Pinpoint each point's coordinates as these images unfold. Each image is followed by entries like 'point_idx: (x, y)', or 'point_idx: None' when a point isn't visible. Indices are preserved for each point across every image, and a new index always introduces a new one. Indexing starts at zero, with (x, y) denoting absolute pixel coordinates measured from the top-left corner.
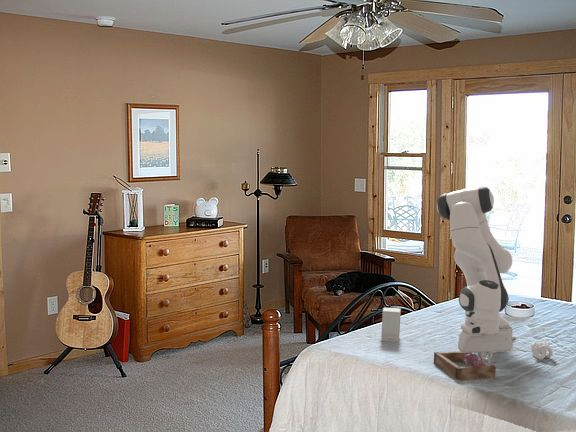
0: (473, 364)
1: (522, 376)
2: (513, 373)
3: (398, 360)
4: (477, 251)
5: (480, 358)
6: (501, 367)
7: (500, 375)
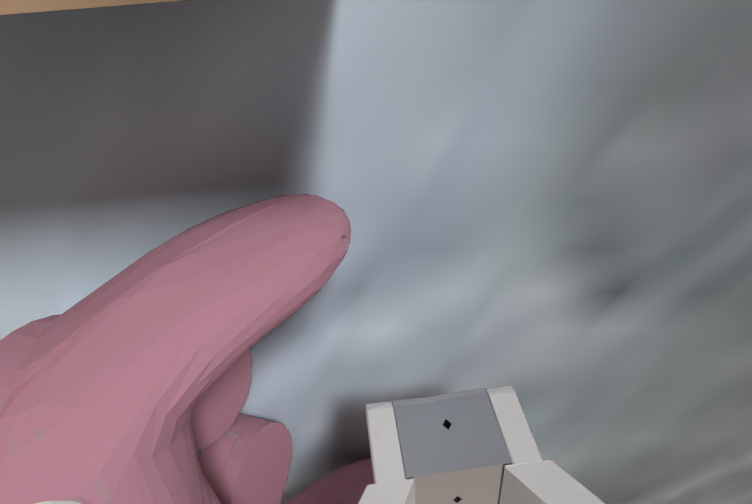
0: (207, 437)
1: (696, 500)
2: (685, 445)
3: None
4: None
5: (375, 479)
6: (740, 266)
7: None
